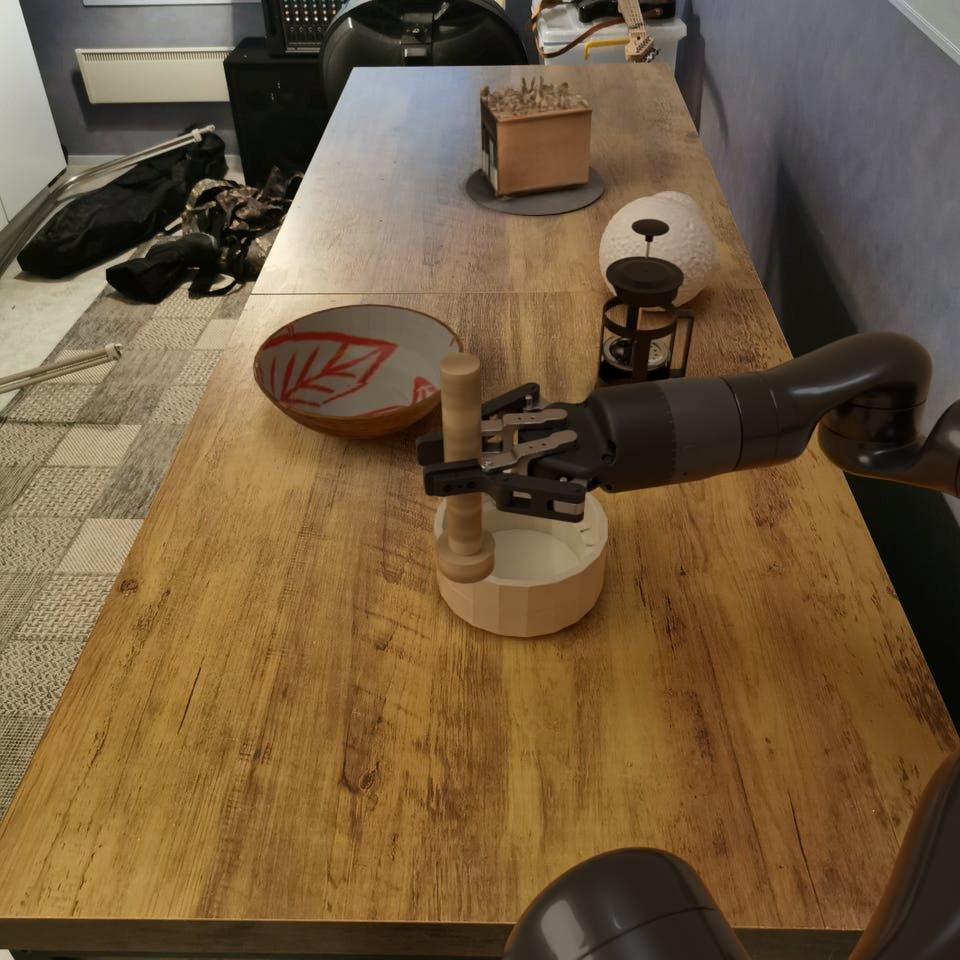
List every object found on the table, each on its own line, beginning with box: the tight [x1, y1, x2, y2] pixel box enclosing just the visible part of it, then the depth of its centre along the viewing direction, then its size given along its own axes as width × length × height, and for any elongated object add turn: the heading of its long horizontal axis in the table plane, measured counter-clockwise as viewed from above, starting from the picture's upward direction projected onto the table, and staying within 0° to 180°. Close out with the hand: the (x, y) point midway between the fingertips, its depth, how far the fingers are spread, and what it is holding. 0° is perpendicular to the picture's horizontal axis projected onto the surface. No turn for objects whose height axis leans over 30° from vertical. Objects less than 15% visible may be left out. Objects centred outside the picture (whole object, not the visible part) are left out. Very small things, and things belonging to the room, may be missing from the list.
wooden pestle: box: [436, 352, 495, 584], centre depth 64 cm, size 4×4×18 cm
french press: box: [593, 219, 695, 390], centre depth 110 cm, size 12×9×23 cm
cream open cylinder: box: [433, 469, 609, 638], centre depth 91 cm, size 17×17×8 cm
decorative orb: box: [598, 190, 721, 312], centre depth 131 cm, size 20×18×16 cm
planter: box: [465, 74, 605, 216], centre depth 162 cm, size 25×25×19 cm
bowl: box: [252, 303, 465, 440], centre depth 113 cm, size 25×25×8 cm
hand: (421, 466), depth 63 cm, fingers closed on wooden pestle, 2 cm apart
